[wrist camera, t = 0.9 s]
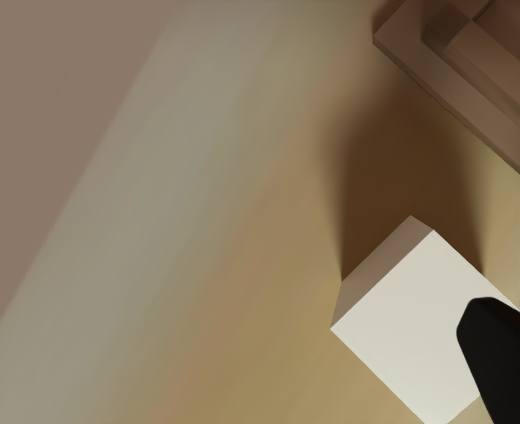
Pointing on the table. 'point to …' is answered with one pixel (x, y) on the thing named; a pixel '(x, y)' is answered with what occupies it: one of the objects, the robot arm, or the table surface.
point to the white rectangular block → (413, 319)
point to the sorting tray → (464, 62)
